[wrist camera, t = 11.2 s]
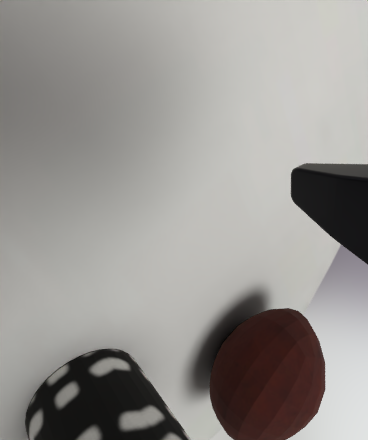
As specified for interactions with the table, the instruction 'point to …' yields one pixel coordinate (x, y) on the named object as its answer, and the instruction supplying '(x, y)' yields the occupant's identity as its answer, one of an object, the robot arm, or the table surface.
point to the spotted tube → (100, 403)
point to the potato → (268, 377)
